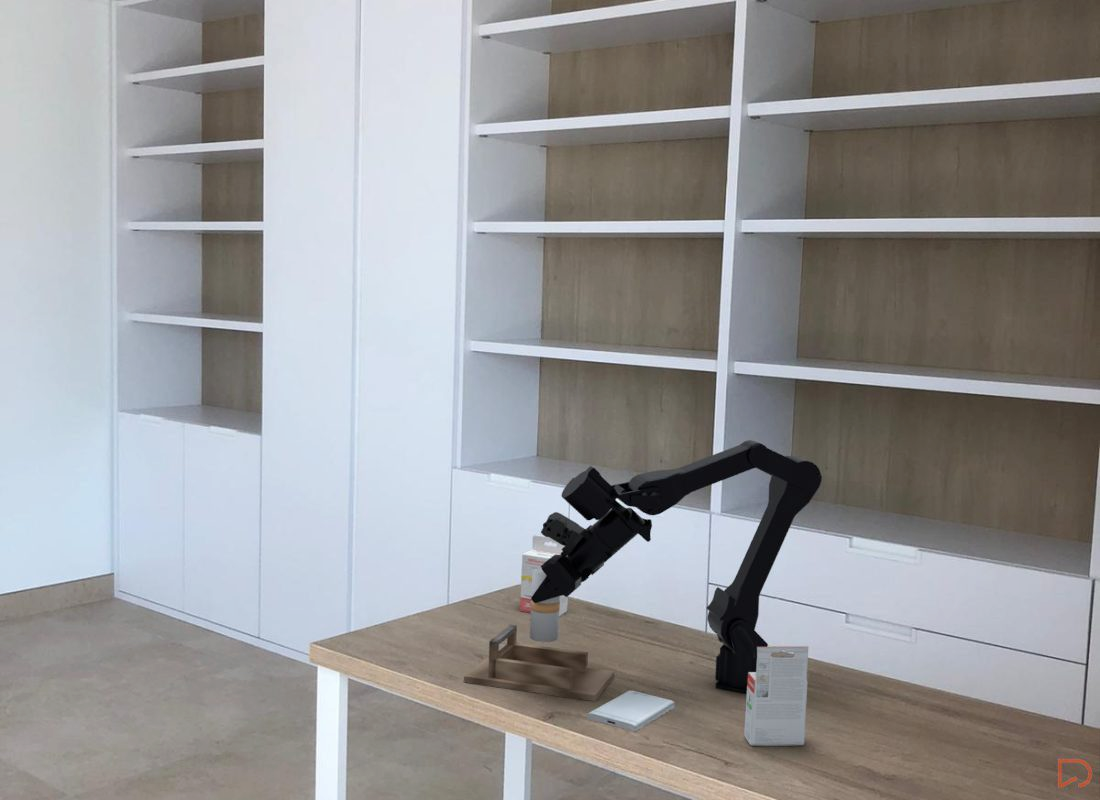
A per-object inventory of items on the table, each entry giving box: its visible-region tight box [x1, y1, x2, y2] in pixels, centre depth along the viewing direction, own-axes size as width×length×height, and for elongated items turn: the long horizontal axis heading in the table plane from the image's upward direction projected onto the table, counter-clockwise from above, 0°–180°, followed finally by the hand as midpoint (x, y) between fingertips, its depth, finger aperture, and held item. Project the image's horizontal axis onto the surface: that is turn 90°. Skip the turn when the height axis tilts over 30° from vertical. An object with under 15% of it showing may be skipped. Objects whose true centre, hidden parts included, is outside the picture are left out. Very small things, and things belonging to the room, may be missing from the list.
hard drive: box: [587, 690, 675, 733], centre depth 173 cm, size 2×8×12 cm
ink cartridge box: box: [519, 534, 569, 617], centre depth 225 cm, size 9×5×15 cm, turn 66°
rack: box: [463, 624, 615, 702], centre depth 185 cm, size 22×12×7 cm, turn 72°
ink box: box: [743, 646, 809, 747], centre depth 163 cm, size 4×8×15 cm, turn 96°
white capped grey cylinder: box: [529, 568, 560, 643], centre depth 184 cm, size 5×5×11 cm
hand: (537, 597), depth 185 cm, fingers closed on white capped grey cylinder, 5 cm apart
